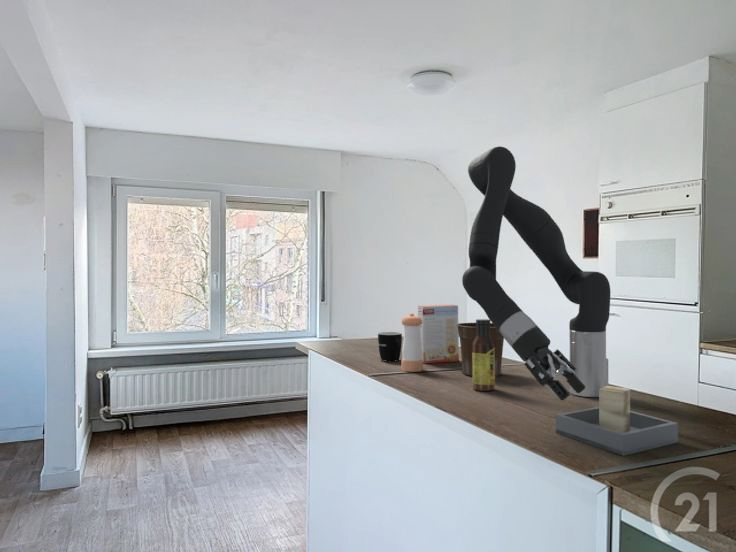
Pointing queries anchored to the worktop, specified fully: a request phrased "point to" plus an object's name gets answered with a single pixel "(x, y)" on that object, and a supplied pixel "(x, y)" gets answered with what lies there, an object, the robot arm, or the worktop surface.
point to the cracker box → (439, 333)
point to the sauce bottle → (483, 357)
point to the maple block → (614, 408)
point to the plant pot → (466, 342)
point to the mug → (390, 345)
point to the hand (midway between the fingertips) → (574, 394)
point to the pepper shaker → (412, 344)
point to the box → (640, 437)
